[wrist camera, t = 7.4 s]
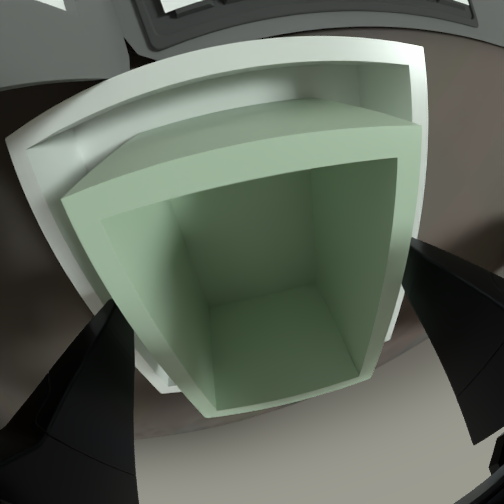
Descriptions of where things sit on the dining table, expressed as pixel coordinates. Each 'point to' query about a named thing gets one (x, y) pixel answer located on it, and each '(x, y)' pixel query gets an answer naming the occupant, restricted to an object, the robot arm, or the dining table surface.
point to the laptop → (196, 29)
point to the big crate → (196, 104)
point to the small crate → (256, 245)
